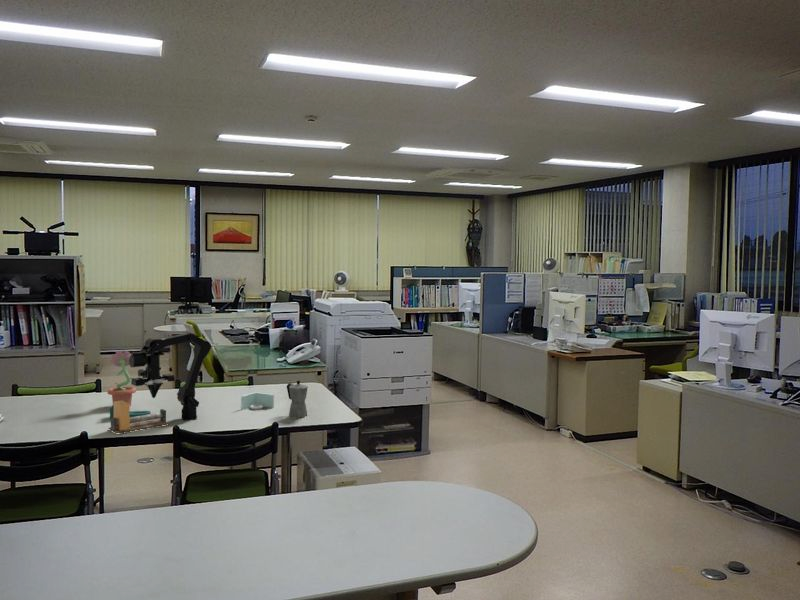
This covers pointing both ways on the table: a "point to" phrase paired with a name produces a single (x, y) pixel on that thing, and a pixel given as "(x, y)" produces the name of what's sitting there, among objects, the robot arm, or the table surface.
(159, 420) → the pipe board
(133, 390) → the decorative flower
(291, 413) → the coffeepot
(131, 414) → the bracket
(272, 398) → the l-shaped corner panel
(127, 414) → the orange tan block
